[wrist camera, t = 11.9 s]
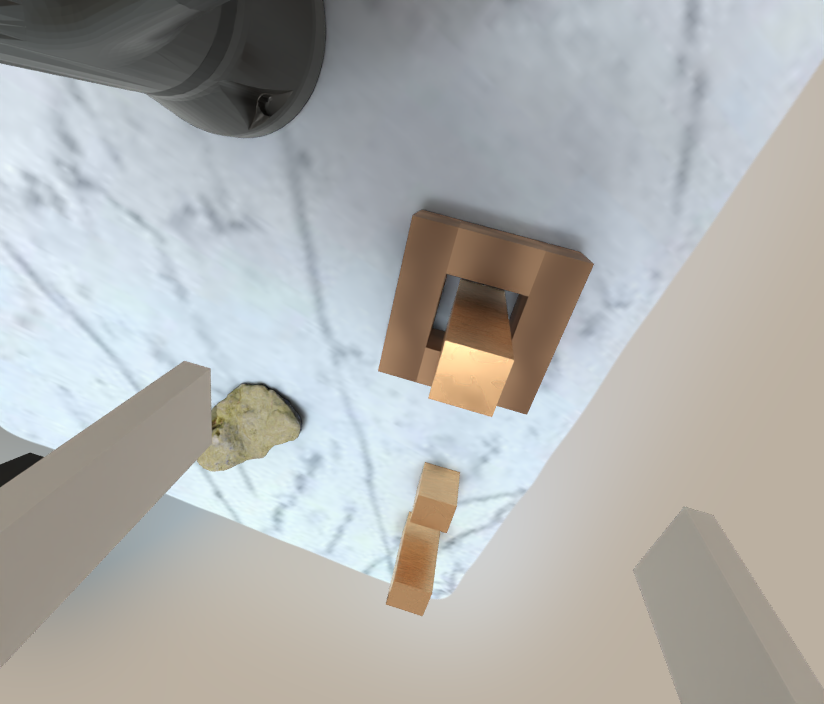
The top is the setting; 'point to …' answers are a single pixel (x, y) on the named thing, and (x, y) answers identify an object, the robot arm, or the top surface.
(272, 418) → the rock
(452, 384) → the long pin
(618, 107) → the top surface
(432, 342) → the hole block
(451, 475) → the short pin
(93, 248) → the top surface
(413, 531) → the medium pin
